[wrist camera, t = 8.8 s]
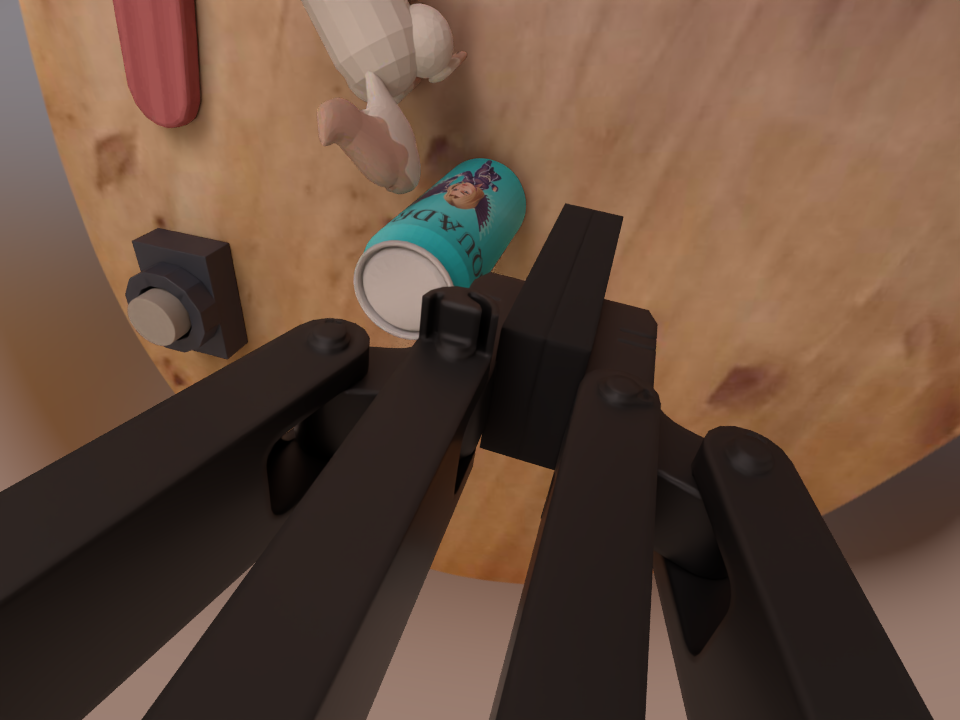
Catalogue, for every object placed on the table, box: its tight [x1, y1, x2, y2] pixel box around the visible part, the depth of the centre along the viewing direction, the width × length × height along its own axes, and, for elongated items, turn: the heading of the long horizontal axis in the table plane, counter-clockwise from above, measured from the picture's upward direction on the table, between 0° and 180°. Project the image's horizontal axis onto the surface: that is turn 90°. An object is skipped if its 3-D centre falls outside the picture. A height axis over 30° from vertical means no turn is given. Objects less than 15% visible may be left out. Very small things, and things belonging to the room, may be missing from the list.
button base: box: [125, 228, 248, 359], centre depth 50 cm, size 10×7×5 cm
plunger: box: [128, 288, 191, 346], centre depth 47 cm, size 4×4×2 cm
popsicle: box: [113, 0, 200, 128], centre depth 38 cm, size 5×2×15 cm
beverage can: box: [354, 158, 526, 340], centre depth 33 cm, size 6×6×15 cm
